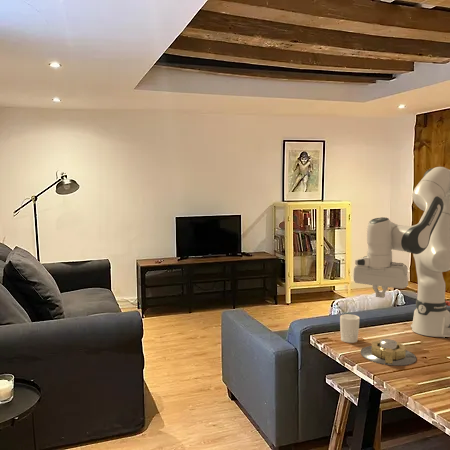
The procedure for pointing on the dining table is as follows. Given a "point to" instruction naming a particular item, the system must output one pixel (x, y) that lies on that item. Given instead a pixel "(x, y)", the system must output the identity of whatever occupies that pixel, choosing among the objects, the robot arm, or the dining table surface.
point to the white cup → (349, 328)
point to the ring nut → (388, 352)
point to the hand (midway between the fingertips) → (380, 297)
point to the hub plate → (382, 361)
